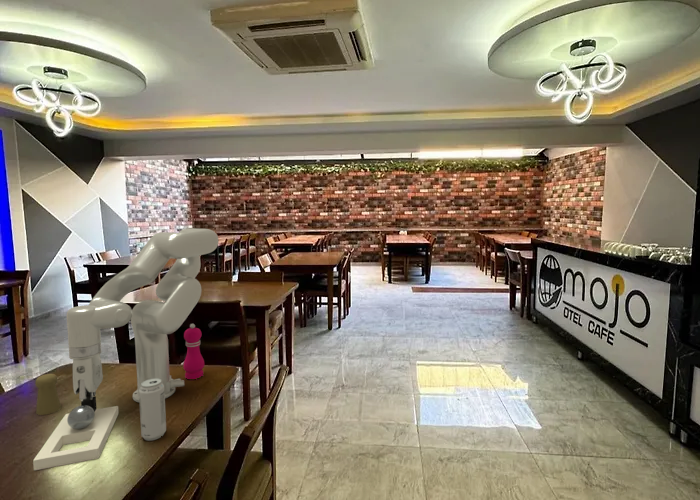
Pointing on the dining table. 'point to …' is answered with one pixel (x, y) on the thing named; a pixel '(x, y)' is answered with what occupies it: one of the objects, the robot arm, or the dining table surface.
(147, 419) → the energy drink can
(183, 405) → the dining table surface
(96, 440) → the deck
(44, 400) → the cork
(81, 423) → the ball
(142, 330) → the robot arm
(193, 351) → the pepper mill
